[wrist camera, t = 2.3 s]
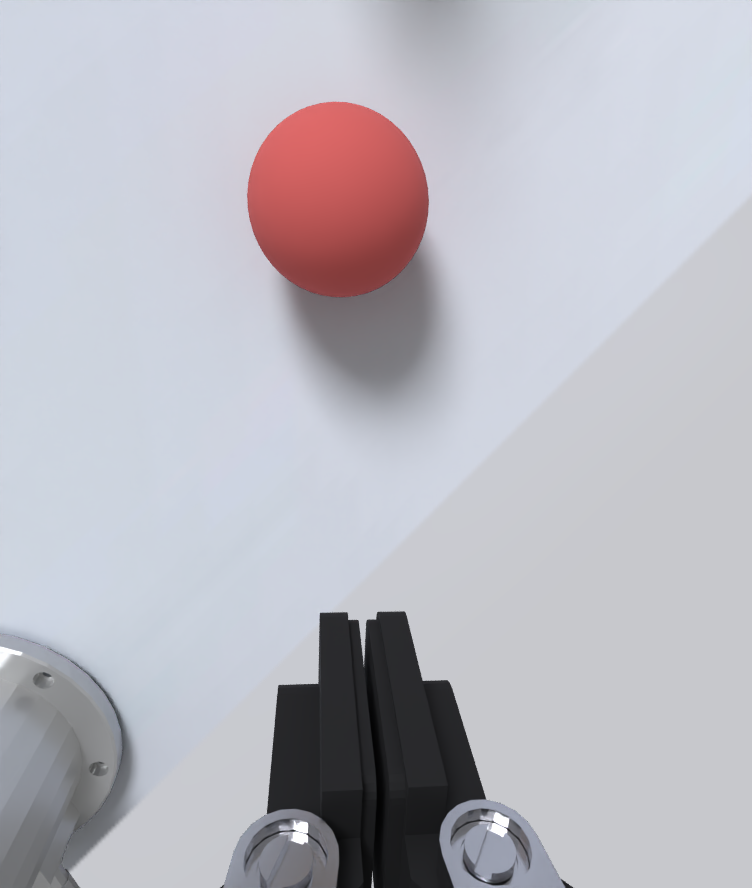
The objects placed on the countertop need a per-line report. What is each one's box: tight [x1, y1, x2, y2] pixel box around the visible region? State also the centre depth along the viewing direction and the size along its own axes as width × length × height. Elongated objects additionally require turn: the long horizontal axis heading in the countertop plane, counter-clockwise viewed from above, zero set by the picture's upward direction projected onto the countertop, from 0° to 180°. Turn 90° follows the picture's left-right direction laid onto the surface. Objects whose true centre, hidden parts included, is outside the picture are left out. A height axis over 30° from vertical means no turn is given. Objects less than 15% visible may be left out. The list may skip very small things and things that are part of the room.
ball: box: [247, 102, 429, 297], centre depth 20 cm, size 6×6×6 cm
